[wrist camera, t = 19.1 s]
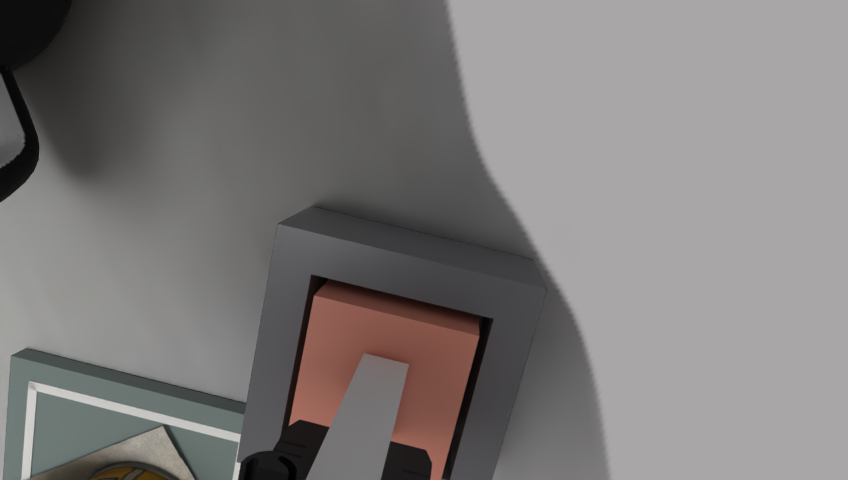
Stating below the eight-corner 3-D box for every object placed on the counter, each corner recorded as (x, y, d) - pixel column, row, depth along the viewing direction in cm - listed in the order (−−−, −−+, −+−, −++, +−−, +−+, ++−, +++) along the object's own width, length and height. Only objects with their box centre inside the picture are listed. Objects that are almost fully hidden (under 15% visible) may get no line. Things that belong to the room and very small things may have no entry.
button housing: (311, 206, 22) (277, 223, 18) (532, 259, 22) (547, 289, 18) (274, 406, 24) (236, 462, 20) (477, 458, 23) (478, 524, 20)
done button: (336, 271, 20) (313, 295, 17) (477, 305, 20) (479, 336, 17) (310, 400, 22) (285, 443, 19) (444, 433, 21) (440, 482, 18)
